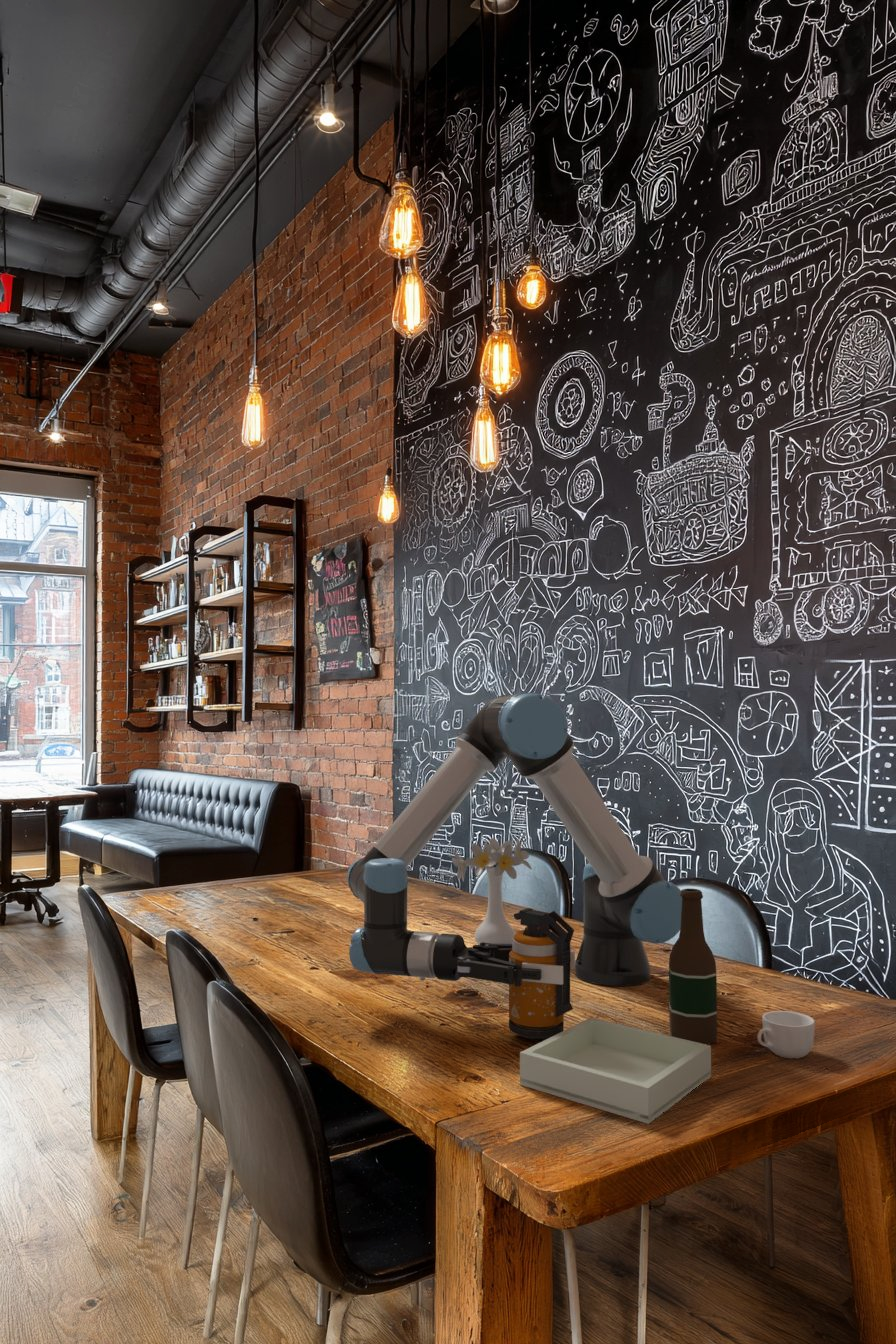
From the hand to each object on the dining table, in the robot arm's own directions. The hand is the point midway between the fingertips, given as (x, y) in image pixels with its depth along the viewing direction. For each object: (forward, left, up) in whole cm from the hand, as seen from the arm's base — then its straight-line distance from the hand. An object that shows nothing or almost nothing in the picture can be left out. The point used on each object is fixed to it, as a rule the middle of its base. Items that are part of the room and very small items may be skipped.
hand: (568, 967), depth 148 cm
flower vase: (-38, -43, -12) cm, 59 cm away
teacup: (-16, +29, -12) cm, 35 cm away
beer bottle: (-14, +15, -12) cm, 24 cm away
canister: (+2, -4, -11) cm, 12 cm away
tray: (+10, +14, -12) cm, 20 cm away
